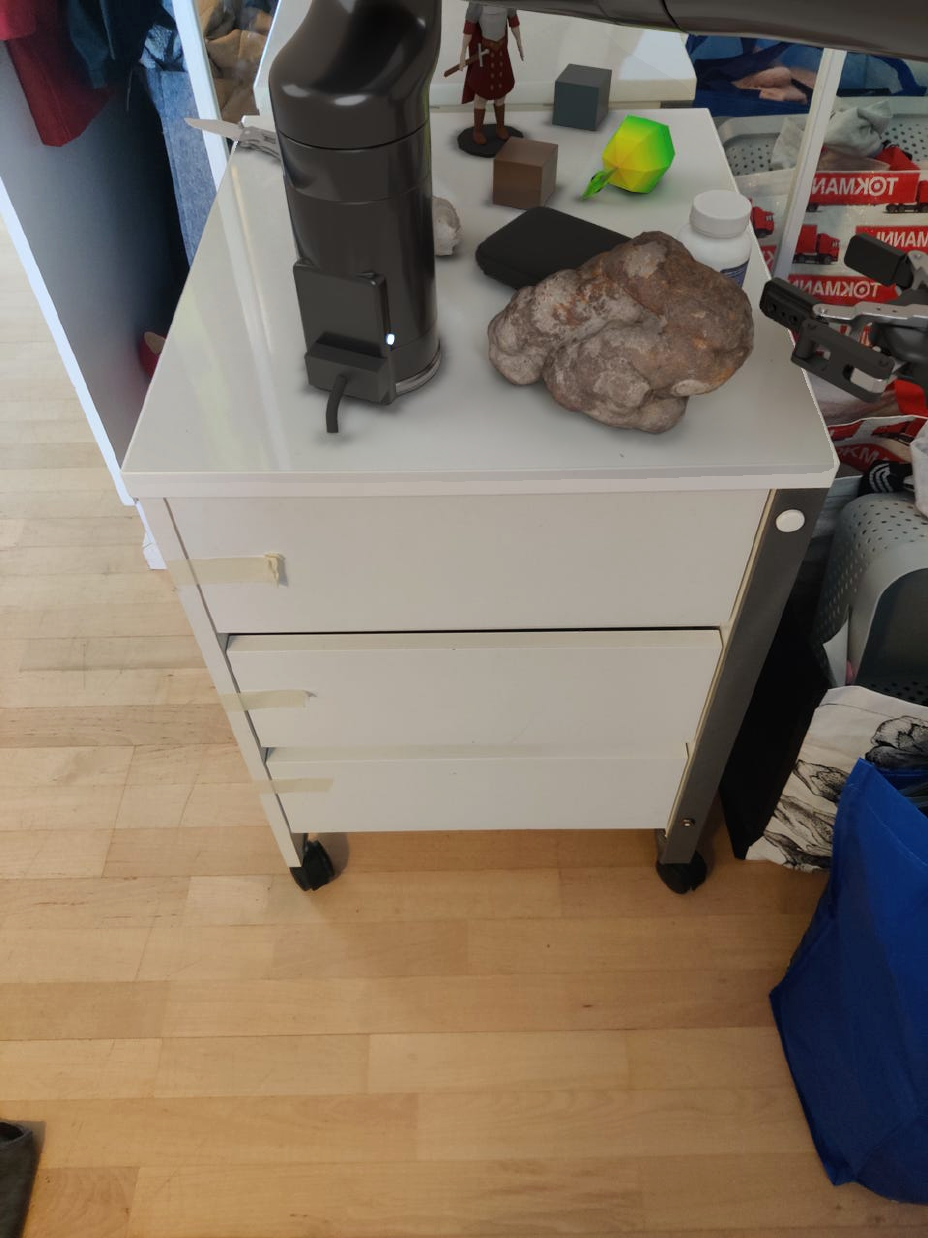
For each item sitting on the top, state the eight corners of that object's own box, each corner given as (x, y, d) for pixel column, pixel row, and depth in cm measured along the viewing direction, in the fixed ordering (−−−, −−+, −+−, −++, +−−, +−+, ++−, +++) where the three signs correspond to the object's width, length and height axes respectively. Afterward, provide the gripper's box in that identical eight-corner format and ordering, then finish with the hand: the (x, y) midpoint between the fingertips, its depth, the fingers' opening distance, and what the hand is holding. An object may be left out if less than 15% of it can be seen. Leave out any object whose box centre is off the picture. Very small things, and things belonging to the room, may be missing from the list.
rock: (573, 376, 72) (519, 469, 68) (499, 250, 64) (434, 346, 60) (795, 349, 59) (743, 461, 55) (735, 189, 52) (671, 305, 48)
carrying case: (455, 281, 73) (608, 348, 67) (455, 246, 71) (613, 312, 65) (533, 227, 78) (681, 285, 72) (534, 192, 76) (688, 250, 70)
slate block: (595, 130, 89) (599, 87, 86) (552, 123, 90) (554, 80, 87) (607, 112, 92) (612, 69, 89) (565, 105, 93) (568, 62, 90)
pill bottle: (727, 309, 70) (758, 185, 62) (733, 350, 67) (767, 225, 59) (658, 305, 71) (680, 182, 63) (660, 346, 67) (684, 221, 60)
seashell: (443, 272, 74) (430, 223, 71) (342, 207, 83) (327, 161, 79) (482, 246, 75) (472, 197, 71) (379, 184, 84) (365, 138, 80)
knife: (176, 133, 90) (196, 119, 92) (314, 176, 84) (333, 160, 86) (171, 117, 89) (191, 103, 90) (311, 160, 83) (330, 144, 84)
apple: (664, 86, 78) (607, 121, 74) (703, 151, 79) (649, 189, 75) (611, 135, 84) (556, 170, 80) (648, 195, 86) (595, 233, 81)
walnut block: (539, 212, 80) (542, 166, 76) (492, 203, 81) (492, 157, 78) (555, 188, 82) (558, 143, 79) (509, 180, 83) (510, 135, 80)
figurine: (471, 162, 85) (470, -24, 74) (444, 130, 90) (440, -50, 78) (535, 149, 87) (545, -35, 75) (506, 119, 91) (511, -60, 79)
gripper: (1144, 286, 50) (896, 176, 58) (1000, 387, 45) (749, 251, 53) (1073, 395, 56) (857, 282, 64) (939, 495, 51) (721, 359, 59)
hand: (808, 268), depth 58 cm, fingers open, 8 cm apart
